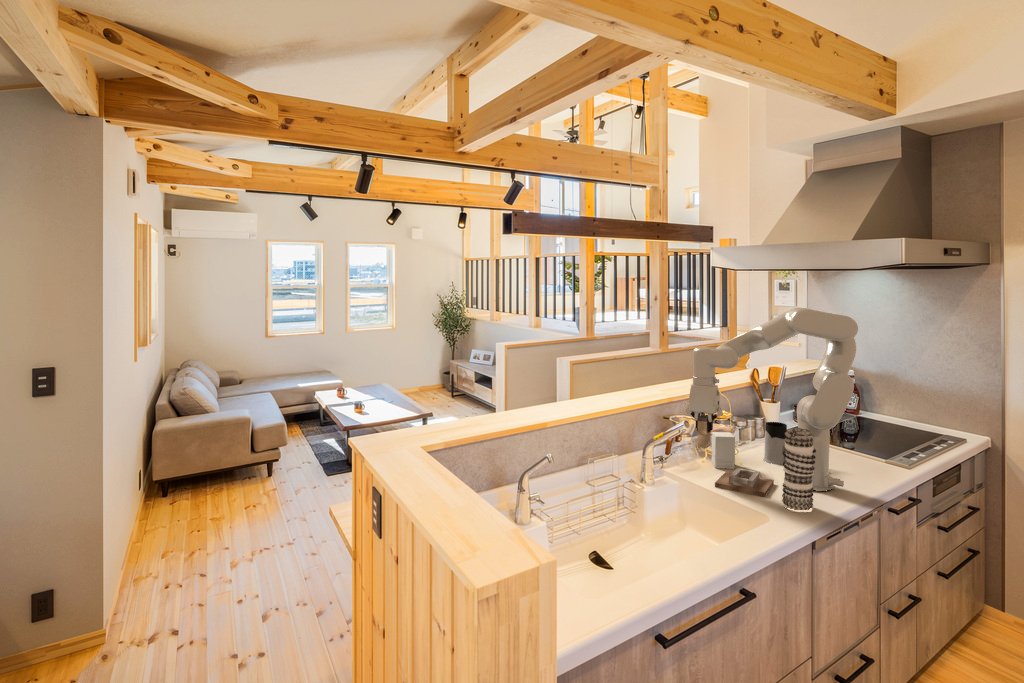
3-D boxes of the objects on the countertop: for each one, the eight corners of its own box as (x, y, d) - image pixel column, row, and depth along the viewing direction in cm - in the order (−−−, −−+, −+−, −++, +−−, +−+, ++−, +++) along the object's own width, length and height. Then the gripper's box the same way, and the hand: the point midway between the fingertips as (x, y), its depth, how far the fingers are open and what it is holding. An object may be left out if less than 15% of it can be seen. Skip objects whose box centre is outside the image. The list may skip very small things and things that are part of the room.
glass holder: (762, 456, 208) (762, 420, 207) (801, 459, 203) (802, 423, 202) (764, 463, 200) (765, 426, 199) (805, 466, 195) (806, 428, 194)
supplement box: (735, 469, 194) (735, 437, 193) (714, 468, 196) (715, 436, 195) (730, 462, 201) (731, 431, 200) (711, 462, 203) (711, 431, 202)
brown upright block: (710, 445, 186) (710, 415, 185) (706, 448, 182) (706, 418, 181) (702, 443, 187) (702, 414, 186) (697, 447, 183) (697, 417, 183)
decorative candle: (792, 499, 165) (794, 424, 163) (820, 509, 157) (823, 430, 155) (774, 505, 161) (776, 428, 159) (802, 516, 153) (805, 435, 150)
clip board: (773, 484, 178) (773, 473, 178) (764, 497, 167) (764, 485, 167) (726, 475, 188) (726, 464, 188) (714, 486, 177) (715, 475, 177)
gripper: (730, 381, 180) (730, 431, 182) (685, 378, 190) (685, 426, 192) (724, 384, 174) (724, 436, 176) (677, 381, 185) (678, 430, 186)
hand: (704, 430), depth 184 cm, fingers closed on brown upright block, 3 cm apart
